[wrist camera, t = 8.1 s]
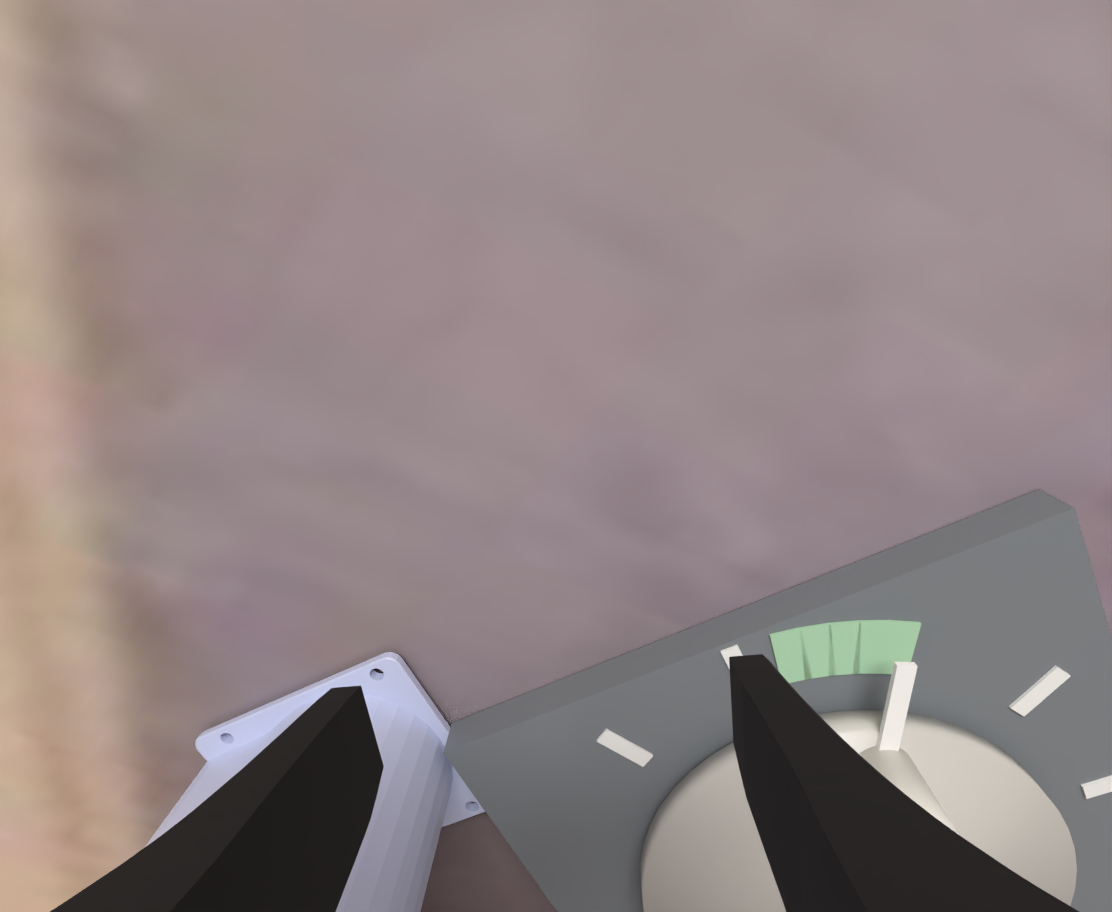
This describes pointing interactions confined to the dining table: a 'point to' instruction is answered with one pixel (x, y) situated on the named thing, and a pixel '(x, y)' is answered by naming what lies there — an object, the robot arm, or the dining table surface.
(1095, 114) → the dining table surface
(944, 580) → the tuner board
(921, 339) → the dining table surface
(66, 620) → the dining table surface
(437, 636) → the dining table surface
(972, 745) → the beige oval dome
